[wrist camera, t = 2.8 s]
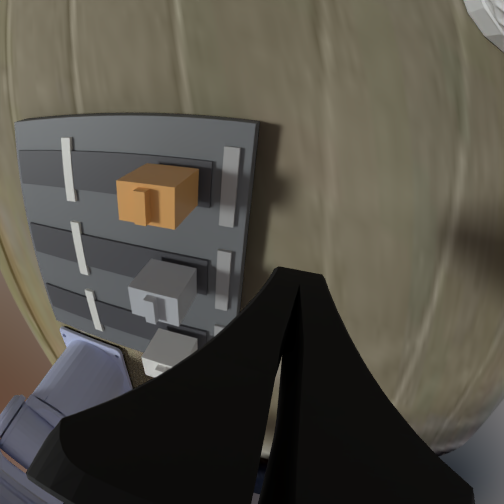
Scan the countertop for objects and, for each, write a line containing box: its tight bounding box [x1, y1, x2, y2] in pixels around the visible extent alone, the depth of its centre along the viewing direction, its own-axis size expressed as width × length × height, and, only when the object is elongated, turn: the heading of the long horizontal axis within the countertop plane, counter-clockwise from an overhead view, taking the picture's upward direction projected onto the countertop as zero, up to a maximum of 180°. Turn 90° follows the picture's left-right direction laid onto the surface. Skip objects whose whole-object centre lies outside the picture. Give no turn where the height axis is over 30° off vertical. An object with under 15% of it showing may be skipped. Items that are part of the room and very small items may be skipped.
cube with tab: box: [141, 328, 198, 377], centre depth 21 cm, size 2×3×4 cm, turn 84°
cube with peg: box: [128, 259, 197, 326], centre depth 18 cm, size 2×3×4 cm, turn 84°
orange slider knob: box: [116, 163, 199, 230], centre depth 15 cm, size 2×3×4 cm, turn 84°
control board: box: [15, 113, 260, 352], centre depth 21 cm, size 19×18×1 cm
